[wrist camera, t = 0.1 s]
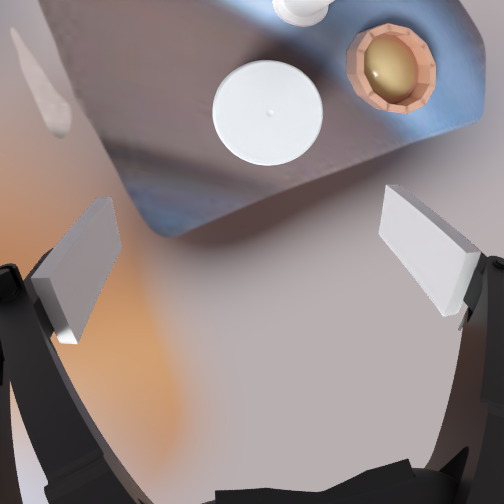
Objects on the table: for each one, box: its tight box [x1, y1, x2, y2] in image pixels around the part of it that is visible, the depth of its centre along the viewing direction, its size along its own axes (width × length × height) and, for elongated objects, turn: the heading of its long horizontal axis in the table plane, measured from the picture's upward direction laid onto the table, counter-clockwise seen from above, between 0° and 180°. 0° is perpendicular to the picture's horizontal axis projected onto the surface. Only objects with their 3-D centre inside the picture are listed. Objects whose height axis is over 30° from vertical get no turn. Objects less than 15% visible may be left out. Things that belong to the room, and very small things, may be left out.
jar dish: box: [346, 23, 436, 114], centre depth 34 cm, size 12×12×4 cm
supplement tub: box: [213, 60, 323, 165], centre depth 31 cm, size 10×10×15 cm
